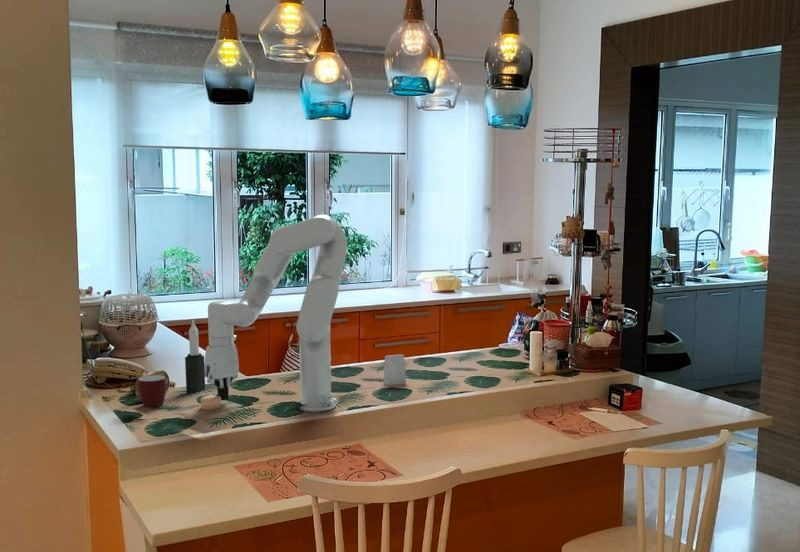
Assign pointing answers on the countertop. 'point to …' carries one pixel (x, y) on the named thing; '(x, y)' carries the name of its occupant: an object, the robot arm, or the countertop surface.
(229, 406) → the tan piece
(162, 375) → the tin
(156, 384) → the mug
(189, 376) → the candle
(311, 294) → the robot arm
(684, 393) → the countertop surface
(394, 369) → the grey tall block
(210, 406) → the tan round bun
